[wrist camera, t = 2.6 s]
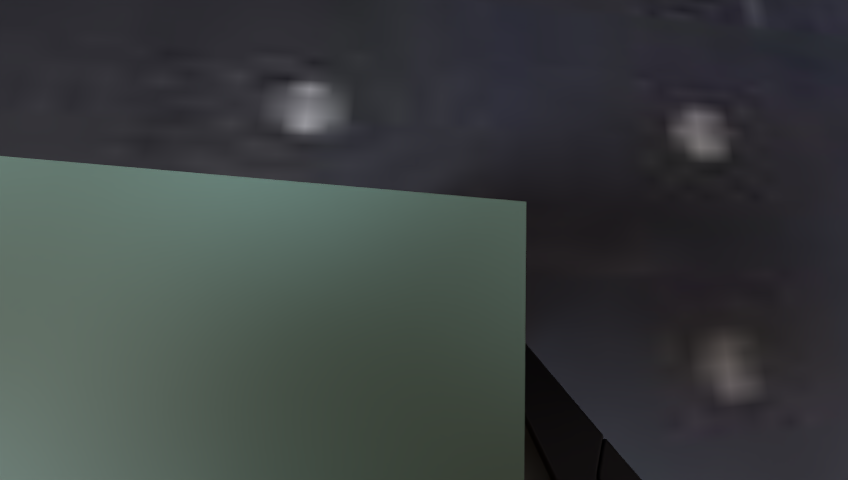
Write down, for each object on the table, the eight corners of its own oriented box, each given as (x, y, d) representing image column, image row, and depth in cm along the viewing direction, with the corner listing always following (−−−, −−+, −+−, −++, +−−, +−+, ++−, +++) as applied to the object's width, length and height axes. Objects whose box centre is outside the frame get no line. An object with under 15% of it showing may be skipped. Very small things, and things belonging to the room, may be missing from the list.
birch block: (420, 418, 14) (520, 944, 2) (291, 411, 14) (-330, 953, 2) (428, 290, 15) (526, 201, 3) (308, 281, 15) (-36, 153, 3)
